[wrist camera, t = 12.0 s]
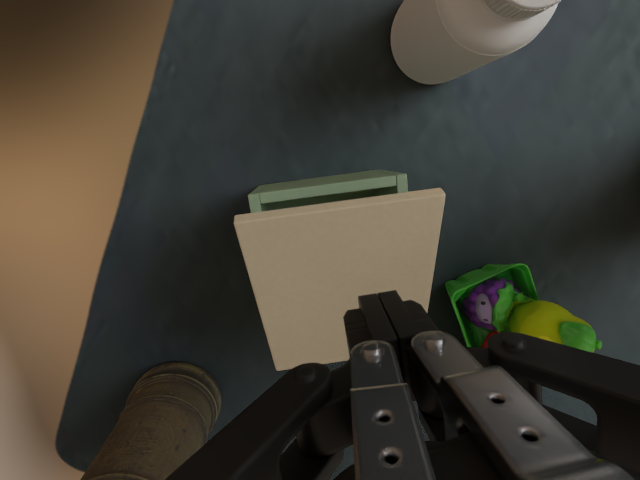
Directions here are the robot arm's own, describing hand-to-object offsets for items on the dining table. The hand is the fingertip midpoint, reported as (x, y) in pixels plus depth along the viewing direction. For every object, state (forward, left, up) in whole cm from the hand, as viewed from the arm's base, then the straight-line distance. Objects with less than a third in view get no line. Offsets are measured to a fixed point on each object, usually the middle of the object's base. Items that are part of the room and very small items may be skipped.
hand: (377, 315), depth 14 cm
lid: (+2, +1, -10) cm, 11 cm away
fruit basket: (0, +19, -22) cm, 29 cm away
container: (+24, -5, -22) cm, 33 cm away
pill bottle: (-19, 0, -22) cm, 29 cm away
